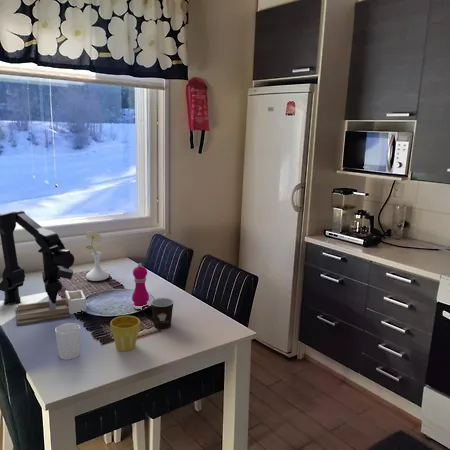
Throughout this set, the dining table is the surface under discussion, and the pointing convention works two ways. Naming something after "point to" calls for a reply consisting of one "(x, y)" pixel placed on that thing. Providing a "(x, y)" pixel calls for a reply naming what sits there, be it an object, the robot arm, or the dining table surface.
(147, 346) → the dining table surface
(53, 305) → the striker
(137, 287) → the pepper mill
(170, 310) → the coffee mug
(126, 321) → the plant pot
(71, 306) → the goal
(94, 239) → the flower in vase
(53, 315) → the board
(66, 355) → the white cup
